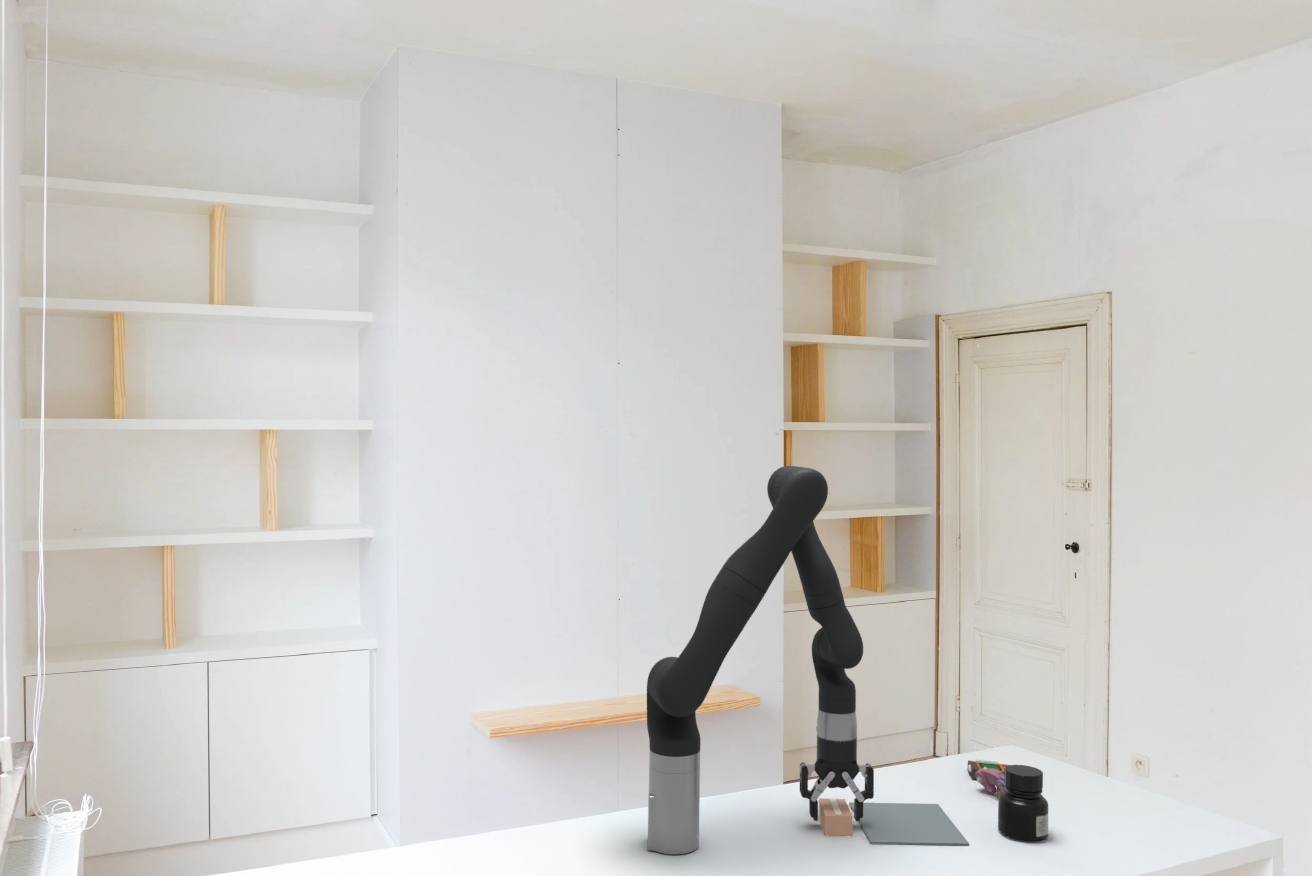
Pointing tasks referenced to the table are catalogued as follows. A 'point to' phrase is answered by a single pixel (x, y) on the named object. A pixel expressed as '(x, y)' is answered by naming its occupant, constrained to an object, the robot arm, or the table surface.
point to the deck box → (835, 817)
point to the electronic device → (976, 765)
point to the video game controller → (991, 780)
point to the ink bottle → (1023, 805)
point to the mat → (909, 824)
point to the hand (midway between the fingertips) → (836, 819)
